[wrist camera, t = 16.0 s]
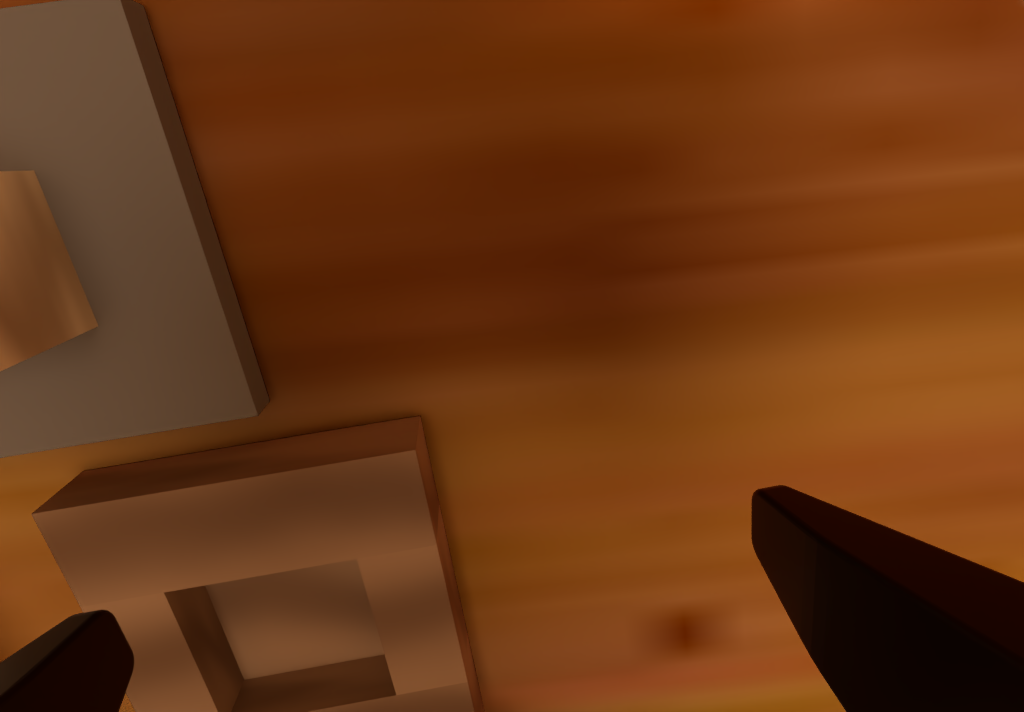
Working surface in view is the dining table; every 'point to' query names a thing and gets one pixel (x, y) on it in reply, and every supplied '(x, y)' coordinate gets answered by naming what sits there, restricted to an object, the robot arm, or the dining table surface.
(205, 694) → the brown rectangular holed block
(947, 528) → the dining table surface
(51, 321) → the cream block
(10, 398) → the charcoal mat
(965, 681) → the robot arm
